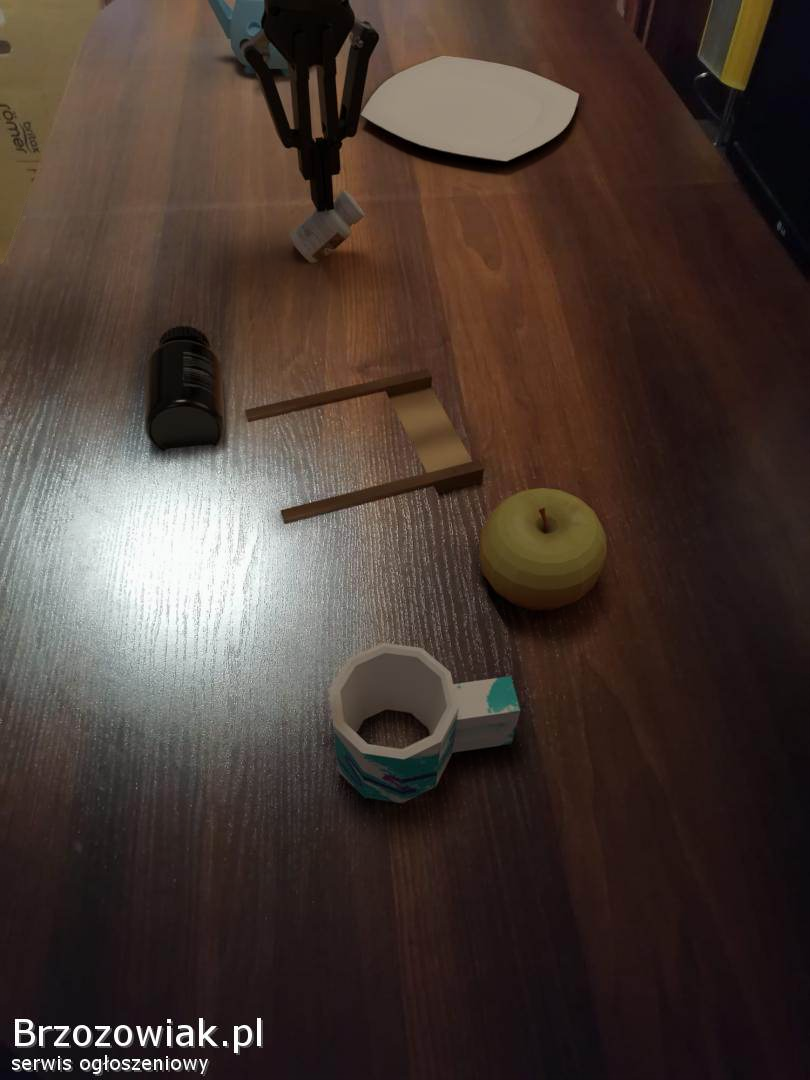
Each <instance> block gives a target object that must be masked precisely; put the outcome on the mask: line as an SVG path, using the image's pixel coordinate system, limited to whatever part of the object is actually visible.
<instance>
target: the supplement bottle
mask: <svg viewBox="0 0 810 1080" xmlns="http://www.w3.org/2000/svg"><path fill="white" fill-rule="evenodd" d="M145 381H146V382H145V402H144V403H145V405H144V431H145V434H146V437H147V438H148V440H149V442H150V443H151V444H152V445H153V446H154V447H155V448H156V449H158V450H159V451H161V452H165V451H167V450H171V449H182V448H183V449H184V448H193V447H202V446H213V447H217V446H218V445H219V444H220V443H221V441H222V440H223V437H224V434H225V405H224V403H225V402H224V383H223V369H222V364H221V362H220V360H219V358H218V357H217V355H216V354H215V353H214V352H213V351H212V350H211V344H210V340H209V339H208V336H206V334H205V333H204V332H202V331H201V330H200V329H198V328H196V327H193V326H189V325H176V326H171V328H168V329H167V330H166V331H164V333H163V334H162V335H161V337H160V338H159V342H158V347H157V348H156V349H155V350H154V351H153V352H152V353H151V355H150V356H149V358H148V360H147V364H146V376H145Z"/></svg>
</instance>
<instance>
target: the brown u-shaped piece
mask: <svg viewBox="0 0 810 1080" xmlns="http://www.w3.org/2000/svg"><path fill="white" fill-rule="evenodd" d="M432 381H433V376H432V373H431V372H430V370H429V368H425V369H419V370H416V371H411V372H405V373H403V374H398V375H394V376H389V377H385V378H384V377H383V378H379V379H376V380H370V381H366V382H363V383H357V384H354V385H353V384H352V385H349V386H345V387H340V388H336V389H331V390H327V391H322V392H318V393H313V394H309V395H304V396H299V397H296V398H291V399H288V400H282V401H277V402H274V403H269V404H265V405H264V404H263V405H261V406H256V407H250V408H247V409H244V413H245V416H246V419H247V421H248V422H249V423H250V422H253V421H258V420H263V419H266V418H270V417H275V416H280V415H283V414H288V413H294V412H298V411H302V410H307V409H310V408H314V407H319V406H323V405H327V404H328V405H329V404H332V403H337V402H340V401H341V402H342V401H345V400H349V399H354V398H359V397H363V396H367V395H371V394H376V393H380V392H385V394H386V395H387V398H388V399H389V401H390V404H391V405H392V407H393V409H394V411H395V413H396V415H397V417H398V419H399V421H400V423H401V425H402V427H403V428H404V431H405V433H406V434H407V437H408V439H409V440H410V443H411V444H412V446H413V449H414V451H415V452H416V455H417V456H418V459H419V461H420V462H421V464H422V465H423V468H424V470H425V472H426V473H421V474H417V475H413V476H409V477H406V478H401V479H398V480H393V481H390V482H386V483H381V484H378V485H374V486H369V487H365V488H363V489H357V490H354V491H350V492H347V493H342V494H339V495H335V496H331V497H326V498H323V499H319V500H315V501H310V502H306V503H303V504H299V505H296V506H292V507H288V508H283V509H280V516H281V518H282V521H283V524H289V523H292V522H297V521H301V520H304V519H308V518H312V517H316V516H320V515H324V514H327V513H328V514H329V513H331V512H336V511H339V510H343V509H347V508H350V507H355V506H359V505H363V504H367V503H370V502H375V501H379V500H383V499H385V498H386V499H387V498H390V497H393V496H397V495H401V494H406V493H410V492H413V491H416V490H417V491H418V490H421V489H424V488H428V487H432V486H433V488H434V490H435V491H436V494H437V495H440V494H443V493H448V492H451V491H454V490H460V489H463V488H467V487H470V486H474V485H478V484H482V483H484V474H485V473H484V472H485V468H484V465H483V464H482V462H481V461H480V459H475V460H473V459H472V458H471V455H470V454H469V452H468V450H467V449H466V447H465V445H464V443H463V441H462V440H461V437H460V436H459V434H458V433H457V430H456V429H455V427H454V426H453V424H452V422H451V420H450V418H449V416H448V414H447V413H446V410H445V409H444V407H443V406H442V404H441V402H440V400H439V398H438V396H437V394H436V393H435V391H434V389H433V388H432V385H433V384H432V383H433V382H432Z"/></svg>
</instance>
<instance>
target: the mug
mask: <svg viewBox="0 0 810 1080" xmlns="http://www.w3.org/2000/svg"><path fill="white" fill-rule="evenodd" d="M515 689H516V688H515V685H514V681H513V678H512V676H511V675H510V676H509V675H508V676H501V677H496V678H488V679H480V680H473V681H466V682H459V683H454V681H453V676H452V673H451V671H450V670H449V669H447V667H446V666H444V665H443V664H442V663H440V661H438V660H437V659H436V658H434V657H433V656H432V655H431V654H430V653H429V652H427V651H426V650H425V649H424V648H423V647H418V646H411V645H404V644H397V643H389V642H382V643H379V644H377V645H375V646H372V647H370V648H368V649H366V650H363V651H361V652H358V653H356V654H354V655H352V656H349V657H348V658H347V659H346V661H345V663H344V664H343V665H342V668H341V669H340V671H338V674H337V675H336V676H335V679H334V680H333V681H332V684H331V685H330V686H329V688H328V694H329V704H330V712H331V723H332V731H333V740H334V741H333V742H334V749H335V756H336V757H335V758H336V766H337V772H338V773H339V774H340V775H341V776H342V777H343V778H344V779H345V780H346V781H347V782H348V783H349V784H350V785H351V786H352V787H353V788H354V789H355V790H356V791H357V792H358V793H359V794H361V796H362V797H363V798H366V799H372V800H378V801H386V802H391V803H398V804H403V803H405V802H408V801H409V800H412V799H414V798H417V797H418V796H420V795H421V794H424V793H426V792H428V791H429V790H432V789H434V788H436V787H437V785H438V783H439V782H440V779H441V777H442V775H443V773H444V772H445V770H446V767H447V765H448V763H449V761H450V760H451V757H452V755H453V753H460V752H467V751H473V750H479V749H487V748H493V747H500V746H506V745H512V744H513V741H514V740H513V739H514V737H515V733H516V729H517V725H518V721H519V717H520V714H521V708H520V704H519V700H518V697H517V693H516V690H515ZM386 710H390V711H396V712H401V713H402V712H403V713H408V714H409V713H410V714H411V715H412V716H413V717H414V718H416V719H417V720H418V721H419V722H420V723H421V724H423V726H424V727H426V728H427V730H428V733H429V736H427V737H424V738H422V739H420V740H419V741H416V742H413V743H412V744H411V745H408V746H406V747H403V748H397V747H391V746H383V745H377V744H369V743H367V741H365V740H364V739H363V738H362V737H361V736H360V735H359V734H358V731H359V730H360V728H361V726H362V724H363V723H364V722H365V721H364V720H366V719H369V718H370V717H373V716H376V715H377V714H379V713H382V712H383V711H386Z"/></svg>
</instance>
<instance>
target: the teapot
mask: <svg viewBox="0 0 810 1080" xmlns="http://www.w3.org/2000/svg"><path fill="white" fill-rule="evenodd" d="M207 2H208V4H209V5H210V7H211V10H212V12H213V13H214V16H215V17H216V19H217V21H218V23H219V25H220V27H221V29H222V31H223V33H224V34H225V36H226V38H227V40H230V47H231V50H232V52H233V54H234V56H235V57H236V58H237V60H238V61H239V62H240V64H242V65H243V66H245V67H244V72H245V73H247V74H256V73H255V70H254V69H253V68H252V67H251V65H250V64H249V63H248V62H247V60H246V58H245V57H244V55H243V53H242V51H241V49H240V47H239V44H240V42H241V40H243V39H249V40H250V39H251V38H252V37H253V36H254V35H255V34H257V33H258V32H259V31H260V30H261V29H262V28H261V19H262V16H263V13H264V0H235V1H234V5H233V9H232V8H231V7H230V6H229V5H228V3H227V2H226V1H225V0H207ZM268 50H269V53H270V59H269V61H268V62H266V63H267V65H268V67H269V69H270V70H271V69H272V70H280V71H281V74H282V75H283V76H285V77H290V74H289V69H288V64H287V61H286V60H285V59H284V58H283V56H282V55H281V54H280V53H279V52H278V51H277V49H276V48H275V47H274V46H273V45H272V43H271V42H270V43H269V45H268Z"/></svg>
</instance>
